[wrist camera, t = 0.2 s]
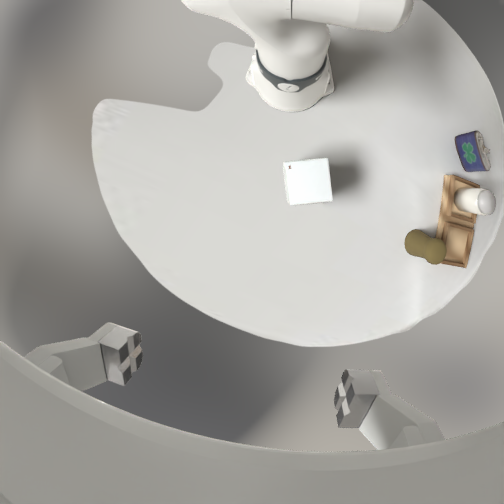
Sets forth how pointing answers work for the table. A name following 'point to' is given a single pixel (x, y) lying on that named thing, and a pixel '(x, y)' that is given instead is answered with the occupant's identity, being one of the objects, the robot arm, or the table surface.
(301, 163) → the supplement box
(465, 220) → the caddy
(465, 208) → the salt shaker
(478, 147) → the flask
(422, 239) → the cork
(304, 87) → the robot arm
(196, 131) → the table surface
